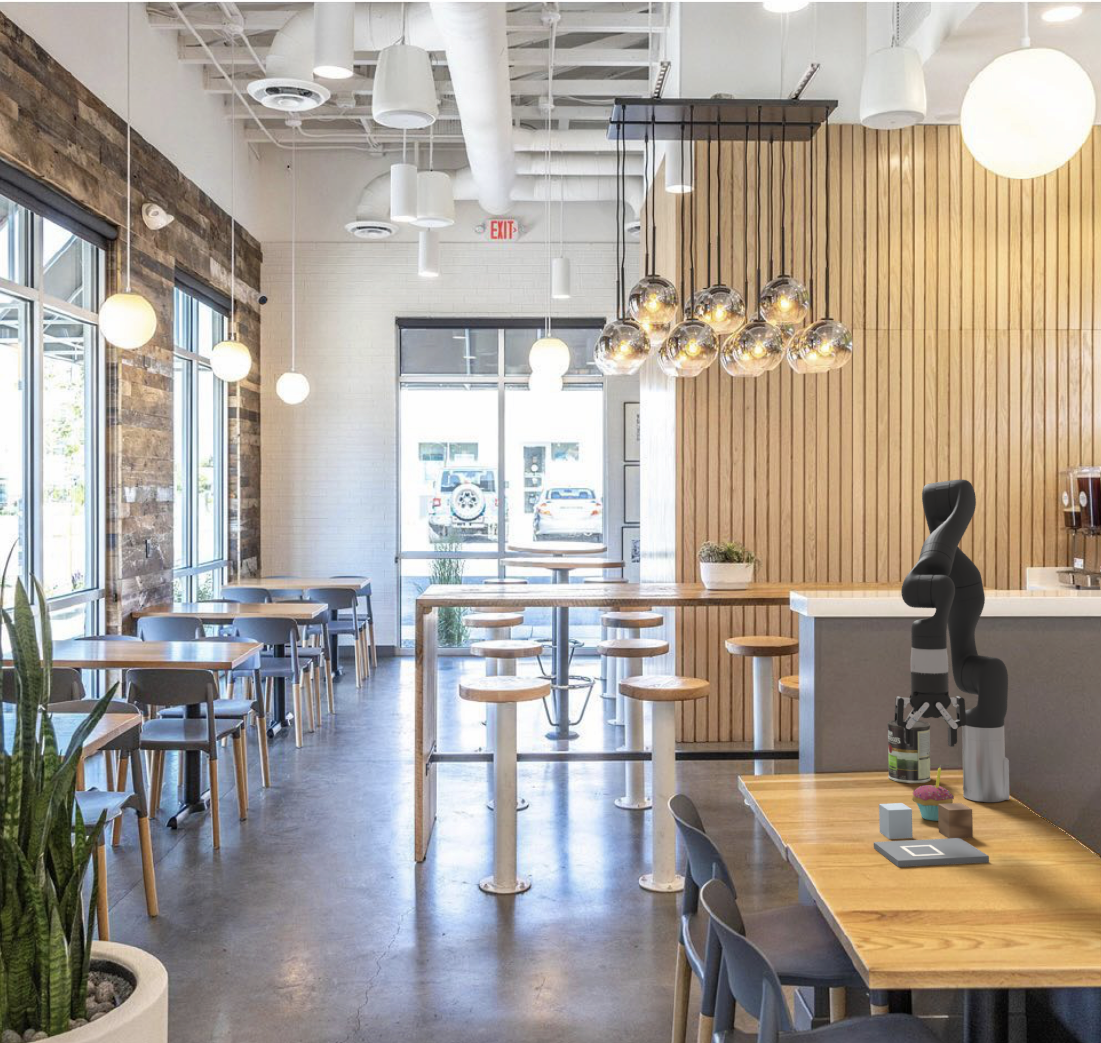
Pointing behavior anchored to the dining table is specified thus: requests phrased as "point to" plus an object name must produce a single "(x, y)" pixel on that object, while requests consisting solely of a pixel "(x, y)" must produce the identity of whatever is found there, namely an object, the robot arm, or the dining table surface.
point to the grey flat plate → (930, 852)
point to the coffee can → (909, 753)
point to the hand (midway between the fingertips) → (930, 746)
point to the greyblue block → (895, 820)
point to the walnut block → (955, 820)
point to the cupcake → (931, 798)
